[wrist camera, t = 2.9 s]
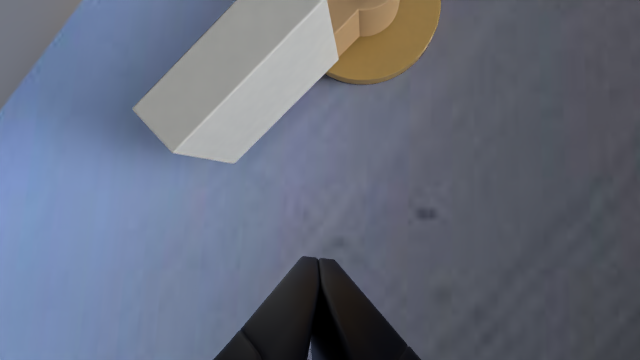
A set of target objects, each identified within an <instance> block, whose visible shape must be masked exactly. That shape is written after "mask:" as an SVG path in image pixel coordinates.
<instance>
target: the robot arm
mask: <svg viewBox="0 0 640 360" xmlns="http://www.w3.org/2000/svg"><path fill="white" fill-rule="evenodd" d="M310 341H311V353H312V360H421V359H420V358H419V357H418V356H417V354H416V353H415V352H414V351H413V350H412V349H411V347H409V346H408V345H407V344H406V342H405V341H404V340H403V339H402V338H401V337H400V335H399V334H398V333H397V332H396V331H395V330H394V328H393V327H392V326H391V325H390V324H389V323H388V321H387V320H386V319H385V318H384V317H383V316H382V314H381V313H380V312H379V311H378V310H377V309H376V307H375V306H374V305H373V304H372V303H371V302H370V300H369V299H368V298H367V297H366V296H365V295H364V293H363V292H362V291H361V290H360V289H359V288H358V286H357V285H356V284H355V283H354V282H353V281H352V279H351V278H350V277H349V276H348V275H347V274H346V272H345V271H344V270H343V269H342V268H341V267H340V265H339V264H338V263H337V262H336V261H335V260H333V259H325V258H320V259H319V260H318V259H317V258H315V257H306V256H303V257H301V258H300V259H299V260H298V262H297V263H296V264H295V265H294V266H293V268H292V269H291V270H290V271H289V272H288V274H287V275H286V276H285V277H284V278H283V279H282V281H281V282H280V283H279V284H278V285H277V287H276V288H275V289H274V290H273V291H272V293H271V294H270V295H269V296H268V297H267V298H266V300H265V301H264V302H263V303H262V304H261V306H260V307H259V308H258V309H257V310H256V312H255V313H254V314H253V315H252V316H251V318H250V319H249V320H248V321H247V322H246V323H245V325H244V326H243V327H242V328H241V330H240V331H238V332H237V333H236V335H235V336H234V337H233V338H232V339H231V341H230V342H229V343H228V344H227V345H226V346H225V347H224V348H223V350H222V351H221V352H220V353H219V354H218V355H217V356H216V357H215V358H214V359H213V360H307V357H308V352H309V346H310ZM407 346H408V347H407Z"/></svg>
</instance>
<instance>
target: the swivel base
mask: <svg viewBox="0 0 640 360" xmlns="http://www.w3.org/2000/svg"><path fill="white" fill-rule="evenodd" d="M440 9H441V0H400V2H399V7H398V11H397V14H396V16H395V18H394V20H393V21H392V23H391V24H390V25H389V26H388V27H387V28H386V29H384V30H383V31H381V32H379V33H377V34H375V35H371V36H365V37H363V36H359V37H358V38H357V39H356V40H355V41H354V42H353V43H352V44H351V45H350V46H349V47H348V48H347V49H346V50H345V51H344V52H343V53H342V54H341V55H340V56H339V57H338V58H339V60H338V61H337V62H336V63H335V64H334V65H333V66H332V67H331V68H330V69H329V70H328V71H327V72H326V73H325V74H326V75H328V76H330V77H332V78H334V79H336V80H339V81H342V82H346V83H351V84H363V85H366V84H375V83H379V82H384V81H387V80H389V79H392V78H394V77H396V76H398V75H400V74H402V73H403V72H405V71H406V70H407V69H409V68H410V67H411V66H412V65H413V64H414V63H416V62H417V61H418V59H419V58H420V57H421V56H422V55H423V53H424V52H425V50H426V49H427V47H428V46H429V43H430V41H431V39H432V37H433V35H434V33H435V31H436V28H437V24H438V21H439V16H440Z"/></svg>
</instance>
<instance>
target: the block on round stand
mask: <svg viewBox="0 0 640 360" xmlns="http://www.w3.org/2000/svg"><path fill="white" fill-rule="evenodd" d="M399 2H400V0H236V1H235V2H234V3H233V4H232V5H231V6H230V7H229V8H228V9H227V10H226V11H225V12H224V14H223V15H222V16H221V17H220V18H219V19H218V20H217V21H216V22H215V23H214V24H213V25H212V26H211V27H210V28H209V29H208V30H207V31H206V32H205V33H204V34H203V35H202V36H201V37H200V38H199V39H198V41H197V42H196V43H195V44H194V45H193V46H192V47H191V48H190V49H189V50H188V51H187V52H186V53H185V54H184V55H183V56H182V57H181V58H180V59H179V60H178V61H177V62H176V63H175V64H174V65H173V66H172V67H171V69H170V70H169V71H168V72H167V73H166V74H165V75H164V76H163V77H162V78H161V79H160V80H159V81H158V82H157V83H156V84H155V85H154V86H153V87H152V88H151V89H150V90H149V91H148V92H147V93H146V94H145V96H144V97H143V98H142V99H141V100H140V101H139V102H138V103H137V104H136V105H135V106H134V107H133V108H132V109H133V111H134V112H135V113H136V114H137V115H138V116H139V117H140V119H141V120H142V121H143V122H144V123H145V124H146V125H147V126H148V127H149V128H150V129H151V130H152V132H153V133H154V134H155V135H156V136H157V137H158V138H159V139H160V140H161V141H162V142H163V143H164V145H165V146H166V147H167V148H168V149H169V150H170V151H171V152H172V153H174V154H180V155H186V156H191V157H197V158H203V159H209V160H214V161H220V162H226V163H231V164H235V163H236V162H237V161H238V160H239V159H240V158H241V157H242V156H243V155H244V154H245V153H246V152H247V151H248V150H249V149H250V148H251V147H252V146H253V145H254V144H255V143H256V142H257V141H258V140H259V139H260V138H261V137H262V136H263V135H264V134H265V133H266V132H267V131H268V130H269V129H270V128H271V127H272V126H273V125H274V124H275V123H276V122H277V121H278V120H279V119H280V118H281V117H282V116H283V115H284V114H285V113H286V112H287V111H288V110H289V109H290V108H291V107H292V106H293V105H294V104H295V103H296V102H297V101H298V100H299V99H300V98H301V97H302V96H303V95H304V94H305V93H306V92H307V91H308V90H309V89H310V88H311V87H312V86H313V85H314V84H315V83H316V82H317V81H318V80H319V79H320V78H321V77H322V76H323V75H324V74H325V73H326V72H327V71H328V70H329V69H330V68H331V67H332V66H333V65H334V64H335V63H336V62H337V61H338V60H339V58H338V57H339V56H340V55H341V54H342V53H343V52H344V51H345V50H346V49H347V48H348V47H349V46H350V45H351V44H352V43H353V42H354V41H355V40H356V39H357V38H358V37H359V36H363V37H365V36H371V35H375V34H377V33H379V32H381V31H383V30H384V29H386V28H387V27H388V26H389V25H390V24H391V23H392V21H393V20H394V18H395V16H396V14H397V11H398V7H399Z"/></svg>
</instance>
